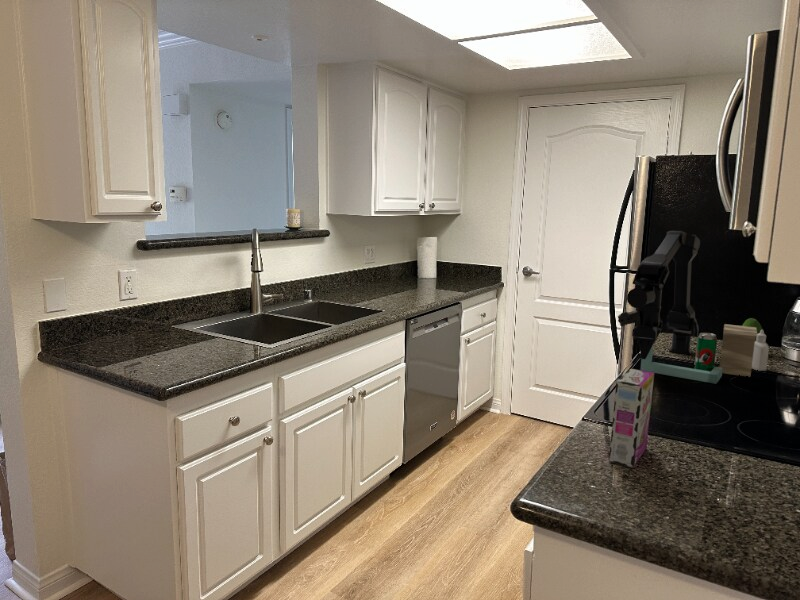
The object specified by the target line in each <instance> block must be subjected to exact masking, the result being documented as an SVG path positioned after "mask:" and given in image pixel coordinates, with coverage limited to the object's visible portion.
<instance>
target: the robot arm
mask: <svg viewBox="0 0 800 600" xmlns="http://www.w3.org/2000/svg"><path fill="white" fill-rule="evenodd" d="M700 245H701V240H700V238H698V236H697V235H696V234H689V233H686V232H684V231H683V230H669V231H667V232H666V233H665V237H664V239H663V241H662V242H661V243H660V244H659V246H658V247H657V249H656V250H655V252H654V253H653V254H652V255H649V256H646V257H645V258H644V259H643V260H642V261H641V262H640V263H639V265H637V266H638V267H637V269H636V273H635V274H634V277H633V280H632V285H634V288H631V290H629V291H628V293H627V294H626V300H627V303H628V305H629V306H630V307H632V308H634V309H636V310H631V311H625V312H621V313H620V314H618V316H617V319H618V320H617V322H618V323H619V326H620V327H625V326H626V325H631V324H635V326H634V327H633V329H632V332H631V336H632V338H633V339H634V340H635V341H637V342H638V346H639V352H640V357H641V358H642V359H646V357H647V355H648V353H649V351H650V350H651V348H652V346H653V347H654V346H655V342H656V341H657V339H658V337H659V336H660V333H661V331H662V329H663V326H664V322H663V319H661V317H660V316H661V311H662V305H661V303H662V296H663V295H662V293H663V288H664V285H665V283H666V281H667V279H668V277H669V274H670V270H669V269H670V268H669V264H670V262H671V261H672V259H673V261H674V263H675V266H674V267H675V268H674V289H673V290H674V295H673V297H674V298H673V306H672V307H671V309H669V311H668V312H667V317H666V320H665V321H666V322H665V324H666V333H669V334H672V336H671V337H672V338H671V346H670V348H669V349H668V352H669V353H676V354H684V355H691V354H692V350H693V349H692V348H691V346H692V345H691V343H692V337H698V336H699V329H700V328H699V324H698V322H697V321H698V320H697V318H696V311H695V310H694V308H693V307H692V305H691V282H692V263H693V262H692V261H693V260H694V258H695V257H696V256H697V254H699V253H698V251H699V249H700Z"/></svg>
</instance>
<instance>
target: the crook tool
mask: <svg viewBox="0 0 800 600" xmlns="http://www.w3.org/2000/svg"><path fill="white" fill-rule="evenodd" d="M653 352H654V345H653V346H652V348H651V350H650V351H649V353H648V355H647V357H646V359H642V358H641V361H640V370H641V371H647V372H652V373H654V374H659V375H665V376H671V377H676V378H682V379H685V380H686V379H687V380H692V381H698V382H704V383H710V384H715V385H716V384H717V383H718V382H719V381H720V379H721V378H722V376H723V373H722V369H723V368H720V366H714V368H713V370H712V371H711V372H709V371H703V370H697V369H694V368H690V367H686V366H678V365H672V364H668V363H667V364H666V363H661V362H655V361H653Z"/></svg>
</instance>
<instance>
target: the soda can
mask: <svg viewBox="0 0 800 600" xmlns="http://www.w3.org/2000/svg"><path fill="white" fill-rule="evenodd" d="M717 343H718V338H717V334H714V333H711V332H700V333H699V332H698V336H697V341H696V347H695V348H696V349H695V359H694V363H695V366H694V368H693V369H697V370H703V371H709V372H711V371H712V370H713V368H714V367H715V363H716V362H715V356H717V355H716V353H717Z"/></svg>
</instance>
